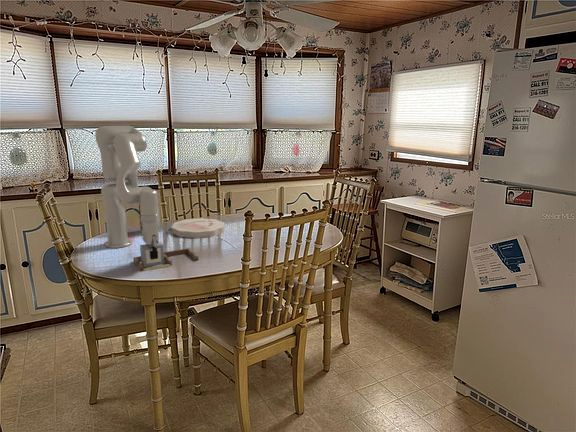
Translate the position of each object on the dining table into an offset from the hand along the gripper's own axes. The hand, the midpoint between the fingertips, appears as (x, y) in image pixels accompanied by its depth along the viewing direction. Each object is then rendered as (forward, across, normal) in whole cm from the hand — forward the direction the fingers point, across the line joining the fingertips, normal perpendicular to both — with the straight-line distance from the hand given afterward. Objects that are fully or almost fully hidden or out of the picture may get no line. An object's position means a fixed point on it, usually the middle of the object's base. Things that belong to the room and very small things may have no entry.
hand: (152, 256), depth 182 cm
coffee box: (+4, -51, +12) cm, 53 cm away
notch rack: (+3, 0, +6) cm, 7 cm away
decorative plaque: (+4, -41, +37) cm, 56 cm away
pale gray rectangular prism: (+4, 0, 0) cm, 4 cm away
